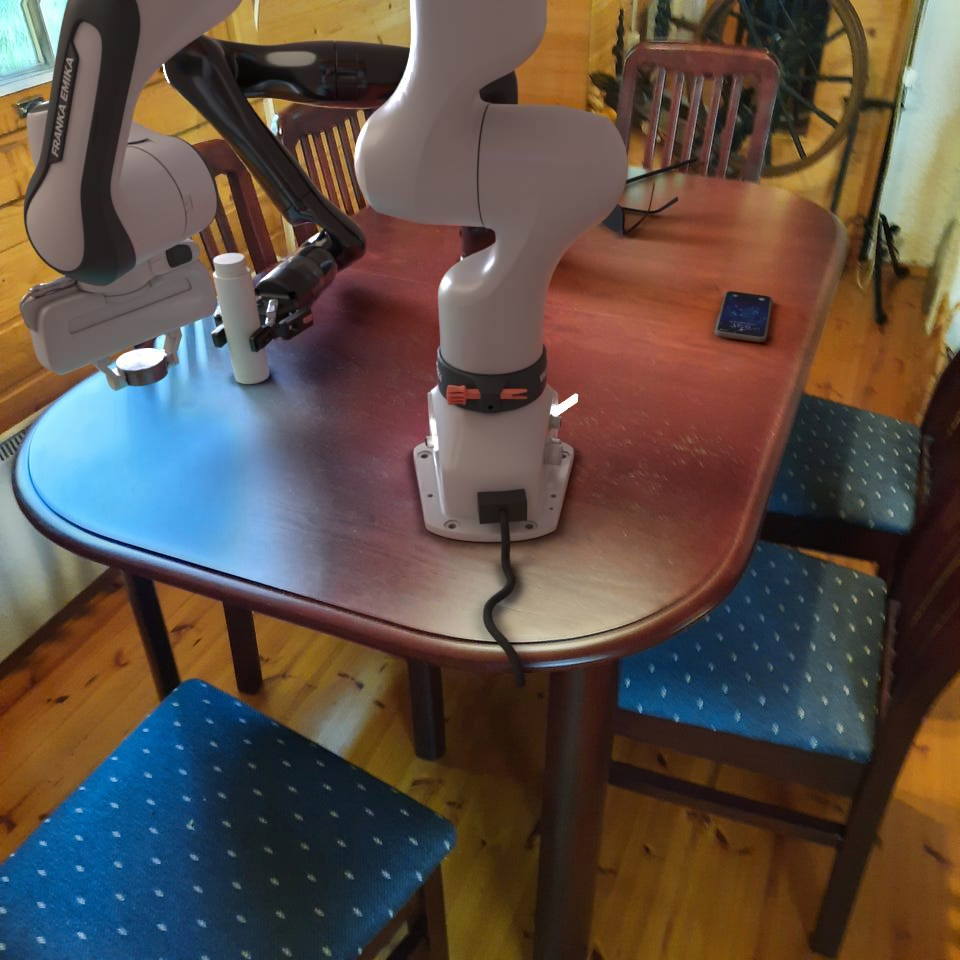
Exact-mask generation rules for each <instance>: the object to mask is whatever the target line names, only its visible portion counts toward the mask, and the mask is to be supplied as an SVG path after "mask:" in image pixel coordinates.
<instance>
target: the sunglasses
mask: <svg viewBox="0 0 960 960" xmlns="http://www.w3.org/2000/svg"><path fill="white" fill-rule="evenodd" d="M655 185H656V183H655V181H653V183H652V189H651V195H650V201H649V206H648V209H647V210H646V209H645V210H643V209H638V208H631V207H625V206H621V205H620V204H619V203H617V205H616V206H615V208H614V209H613V211H612V212H611V213H610V214H609V215H608V216H607V217H606V219H604V220H603V221H602V222H601V223H602V224H603V225H604V227H606V228H608V229H609V230H611V231H612V232H614V233H616V234H618V235H623V236H624V235H629V234H630V233H632V231H634V230H635V229H636V228H638V227H639V225H641V223H642V222H643V221H644V220H646V218H647V217H648V215H655V214H658V213H661V212H663V211H664V210H666V209H668V208H669V207H671V206H672V205H675V204H676V203H678V201H679V196H676V197H674V198H673V199H671V200H669V201H668V202H667V203H666V204H664V205H662V206H661V207H659V208H658V209H654V210H651V207H652V202H653V196H654V191H655ZM625 212H633V213H639V214H644V215H643V216H642V217H641V218H640V219H639V220H638V221H637V222H635V224H633V225H632V226H630V228H628V229H627V230H626V229H625V228H626V227H625V225H626V213H625Z"/></svg>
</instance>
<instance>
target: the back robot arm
mask: <svg viewBox="0 0 960 960" xmlns="http://www.w3.org/2000/svg"><path fill="white" fill-rule="evenodd" d="M409 54H410V46H409V47H408V46H403V45H395V44H387V43H378V42H377V43H376V42H365V41H356V40H355V41H353V40H332V39H331V40H328V39H323V40H322V39H321V40H304V41H296V42H295V41H294V42H287V43H279V44H253V43H246V42H245V43H244V42H239V41H238V42H237V41H232V40H231V41H230V40H225V39H219V38H216V37H212V36H208V35H207V34H203V35H201V36H200V37H198V38H197V39H195V40H194V41H192V42H191V43H189V44H188V45H187V46H185V47H184V48H183V49H181V50H180V51H179V52H177V53H176V54H175V55H174V56H172V57H171V58H170V59H169V60H168V61H167V62H166V63H164V64H163V65H162V66H163V72H164V75H165V78H166V80H167V82H168V84H169V85H170V87H171V89H172V90H173V91H174V92H175V93H176V94H177V95H178V96H180V97H181V98H183V100H185V101H186V103H188V104H189V105H190V106H191V107H192V108H193V109H194V110H195V111H196V112H197V113H198V114H200V116H201V117H203V119H205V120H206V122H207V123H209V125H210V126H212V128H213V129H214V130H215V131H216V132H217V133H218V135H220V137H221V138H222V139H223V140H224V141H225V143H226V144H227V145H228V146H229V147H230V148H231V150H232V151H233V152H234V154H235V155H236V156H237V157H238V159H239V160H240V161H241V163H242V164H243V166H244V167H245V168H246V169H247V171H248V172H249V174H250V175H251V176H252V178H253V179H254V180H255V182H256V183H257V185H258V186H259V187H260V188H261V190H262V191H263V192H264V194H265V195H266V197H267V198H268V199H269V200H270V202H271V203H272V204H273V205H274V207H275V209H277V211H278V212H279V213H280V214H281V216H282V217H283V219H284V220H285V221H286V222H287V223H288V225H291V226H293V227H299V226H302V225H306V224H309V223H310V224H311V223H312V224H315V225H316V226H318V227H320V228H321V230H319V231H317V232H316V233H315V234H314V235H312V236H311V237H309V238H308V239H306V241H305V242H303V243H302V244H301V246H300V247H299V248H298V250H297V251H296V252H295V253H294V254H293V255H291V256H290V257H289V258H288V259H286V260H283V261H282V262H281V263H279V264H278V265H277V266H276V267H274V268H273V269H272V270H271V271H270V272H268V273H267V274H266V275H265V276H264V277H263V278H262V279H261V280H260V281H258V283H256V286H255V287H254V292H255V297H256V303H257V308H258V314H259V319H260V324H261V326H260V327H259V328H258V329H257V330H256V331H255V332H254V333H253V334H252V335H251V336H250V338H249V343H250V348H251V351H252V352H258V351H259V350H260V349H263V348H265V349H266V347H267V346H268V345H269V344H270V343H271V342H275V341H277V340H278V338H281V339H282V341H289V340H292V339H293V338H295V337H297V336H298V335H300V334H301V333H303V332H304V331H306V330H307V329H309V328H311V327H313V326H314V325H315V323H314V316H313V310H312V308H313V306H314V305H316V303H317V302H318V301H319V300H320V298H321V296H322V295H323V294H324V293H325V292H326V291H327V290H328V289H329V288H330V287H331V285H332V284H333V283H334V282H335V279H336V277H337V275H338V274H339V273H342V272H343V271H344V270H346V269H349V268H350V267H351V266H353V265H354V264H356V263H358V262H359V261H361V260H362V259H363V258H364V257H365V256H366V254H367V252H368V240H367V236H366V234H365V232H364V230H363V229H362V227H361V226H360V224H359V223H357V222H356V220H354V219H353V218H352V217H351V216H350V215H348V214H347V213H346V212H344V210H342V209H341V208H339V206H337V205H336V204H335V203H334V202H333V201H331V200H330V199H329V198H328V197H327V196H326V195H325V194H324V193H322V192H321V191H320V189H319V188H318V186H317V185H316V184H315V182H314V181H313V180H312V179H311V177H310V175H309V174H308V173H307V172H306V171H305V169H304V168H303V167H302V165H301V164H300V162H299V161H298V160H297V159H296V157H295V156H294V155H293V154H292V153H291V152H290V150H289V149H288V148H287V147H286V146H285V144H284V143H283V142H282V141H281V140H280V139H279V138H278V137H277V135H276V134H275V133H274V132H273V131H272V130H271V129H270V128H269V126H267V124H266V123H265V122H264V121H263V120H262V118H261V117H260V115H259V114H258V112H256V110H255V109H254V107H253V106H252V104H251V103H250V101H249V100H251V99H269V100H277V101H278V100H279V101H284V102H289V103H293V104H299V105H305V106H311V107H319V108H329V109H345V110H346V109H349V110H370V109H379V108H380V107H381V106H382V105H383V104H384V103H385V102H386V101H387V100H388V99H389V98H390V97H391V96H392V94H393V93H394V92H395V90H396V88H397V87H398V85H399V83H400V81H401V79H402V77H403V75H404V72H405V69H406V66H407V63H408V59H409ZM479 94H480V98H481V99H482V100H483V101H484V102H488V103H491V104H519V84H518V77H517V72H516V70H514V71H512V72H510V73H509V74H507V75H505V76H503V77H501V78H499V79H497V80H494V81H492V82H491V83H489V84H487V85H486V86H484V87H483V88H481V89H480V90H479ZM695 162H698V157H697V156H696V157H692V158H689V159H686V160H684V161H681V162H678V163H674V164H672V165H669V166H665V167H662V168H659V169H656V170H653V171H649V172H646V173H643V174H639V175H637V176H634V177H631V178H627V179H626V184H625V186H626V185H628V184H631V183H634V182H637V181H640V180H644V179H647V178H650V177H653V176H656V175H659V174H662V173H665V172H669V171H672V170H675V169H678V168H681V167H684V166H687V165H690V164H692V163H695ZM458 231H459V239H460V261H461V260H462V259H464V258H466V257H468V256H470V255H472V254H474V253H477V252H479V251H481V250H484V249H486V248H488V247H489V246H491V245H492V244H494V243H495V242H496V234H495V232H494V230H492V229H490V228H486V227H474V226H459V230H458ZM212 316H213V321H214V324H215V329H214V330H212V331H211V334H210V335H211V340H212V343H213V345H214V348H216V349H222V348H223V347H224V346H225V345H226V344H228V343H227V339H226V334H225V329H224V325H223V320H222V315H221V311H220V306H219V305H218V306H217V307H216V310H215V312H214V314H213V315H212ZM290 326H291V328H290Z"/></svg>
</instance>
